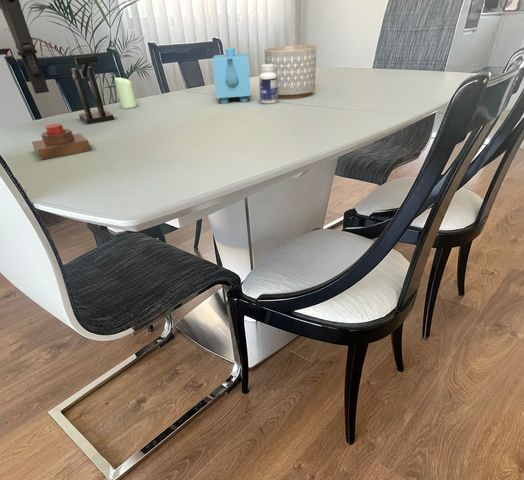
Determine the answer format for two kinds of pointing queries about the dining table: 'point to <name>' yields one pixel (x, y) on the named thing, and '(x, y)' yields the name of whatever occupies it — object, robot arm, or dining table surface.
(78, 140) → the button block
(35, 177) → the dining table surface
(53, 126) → the button
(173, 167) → the dining table surface
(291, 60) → the planter
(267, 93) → the pill bottle
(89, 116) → the bracket
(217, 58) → the blue teardrop bottle box
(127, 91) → the candle
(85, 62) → the lever
